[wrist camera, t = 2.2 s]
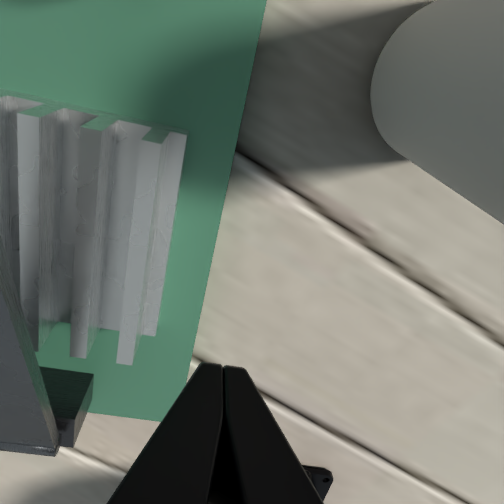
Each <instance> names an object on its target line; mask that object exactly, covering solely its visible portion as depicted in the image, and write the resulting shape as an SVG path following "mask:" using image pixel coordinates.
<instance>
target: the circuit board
mask: <svg viewBox="0 0 504 504" xmlns="http://www.w3.org/2000/svg"><path fill="white" fill-rule="evenodd" d="M266 1H267V0H0V88H3V89H7V90H11V91H16V92H20V93H25V94H29V95H34V96H38V97H43V98H47V99H52V100H56V101H61V102H65V103H70V104H74V105H79V106H83V107H87V108H92V109H96V110H101V111H105V112H110V113H114V114H119V115H123V116H128V117H132V118H137V119H141V120H146V121H150V122H154V123H159V124H163V125H168V126H172V127H177V128H181V129H186V130H189V136H188V143H187V149H186V155H185V161H184V168H183V174H182V180H181V186H180V193H179V199H178V205H177V212H176V218H175V224H174V230H173V237H172V243H171V249H170V255H169V262H168V268H167V274H166V281H165V287H164V293H163V299H162V306H161V312H160V318H159V324H158V328H157V332H156V336H148V335H142V336H141V339H140V342H139V345H138V349H137V352H136V355H135V358H134V361H133V365H125V364H118V363H116V360H117V351H118V342H119V333H120V331H116V330H110V329H103V328H100V330H99V332H98V334H97V336H96V338H95V341H94V343H93V345H92V347H91V349H90V351H89V353H88V356H87V358H86V359H84V358H77V357H70V335H71V323H65V322H59V321H58V322H57V323H56V325H55V326H54V328H53V330H52V331H51V333H50V334H49V336H48V338H47V339H46V341H45V342H44V344H43V345H42V347H41V349H40V350H39V352H36V351H35V354H36V358H37V361H38V364H39V366H42V367H49V368H56V369H63V370H70V371H77V372H84V373H91V374H94V382H93V394H92V401H91V404H90V407H89V409H88V412H90V413H97V414H105V415H113V416H120V417H128V418H136V419H144V420H151V421H159V422H161V421H162V420H163V418H164V417H165V415H166V414H167V412H168V411H169V409H170V408H171V406H172V405H173V403H174V402H175V400H176V399H177V397H178V396H179V394H180V393H181V391H182V390H183V388H184V387H185V385H186V380H187V376H188V371H189V366H190V361H191V357H192V352H193V347H194V343H195V338H196V333H197V328H198V324H199V319H200V314H201V309H202V305H203V300H204V295H205V290H206V286H207V281H208V276H209V271H210V267H211V262H212V257H213V252H214V248H215V243H216V238H217V234H218V229H219V224H220V219H221V215H222V210H223V205H224V200H225V196H226V191H227V186H228V181H229V177H230V172H231V167H232V162H233V158H234V153H235V148H236V143H237V139H238V134H239V129H240V125H241V120H242V115H243V110H244V106H245V101H246V96H247V91H248V87H249V82H250V77H251V72H252V68H253V63H254V58H255V53H256V49H257V44H258V39H259V34H260V30H261V25H262V20H263V16H264V11H265V6H266Z"/></svg>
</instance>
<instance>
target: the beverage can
mask: <svg viewBox="0 0 504 504" xmlns="http://www.w3.org/2000/svg"><path fill="white" fill-rule="evenodd" d="M370 99H371V108H372V114H373V119H374V122H375V124H376V126H377V129H378V131H379V133H380V134H381V136H382V137H383V139H384V140H385V141H386V142H387V144H388V145H389V146H390V147H392V148H393V149H394V150H395V151H396V152H398V153H399V154H401V155H402V156H404V157H405V158H407V159H408V160H410V161H411V162H412V163H414V164H415V165H417V166H418V167H420V168H421V169H423V170H424V171H426V172H427V173H429V174H430V175H432V176H433V177H435V178H436V179H438V180H439V181H440V182H442V183H443V184H445V185H446V186H448V187H449V188H451V189H452V190H454V191H455V192H457V193H458V194H460V195H461V196H463V197H464V198H466V199H467V200H469V201H470V202H471V203H473V204H474V205H476V206H477V207H479V208H480V209H482V210H483V211H485V212H486V213H488V214H489V215H491V216H492V217H494V218H495V219H497V220H498V221H500V222H501V223H502V224H504V0H437V1H435V2H433V3H430V4H428V5H426V6H425V7H423V8H421V9H420V10H418V11H417V12H415V13H414V14H413V15H411V16H410V17H409V18H408V19H406V20H405V21H404V22H403V23H402V24H401V25H400V26H399V27H398V28H397V30H396V31H395V32H394V33H393V34H392V36H391V37H390V39H389V40H388V42H387V43H386V45H385V46H384V48H383V50H382V52H381V54H380V56H379V58H378V61H377V63H376V66H375V69H374V73H373V77H372V82H371V91H370Z"/></svg>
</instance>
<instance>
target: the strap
mask: <svg viewBox="0 0 504 504" xmlns="http://www.w3.org/2000/svg"><path fill="white" fill-rule="evenodd" d="M61 440H62V434H60V433H59V432H58V429H57V425H56V422H55V419H54V415H53V412H52V408H51V405H50V402H49V398H48V395H47V392H46V388H45V385H44V381H43V378H42V375H41V371H40V368H39V364H38V361H37V358H36V354H35V351H34V347H33V344H32V341H31V337H30V334H29V330H28V327H27V324H26V320H25V317H24V314H23V310H22V307H21V303H20V300H19V297H18V293H17V290H16V286H15V283H14V280H13V276H12V273H11V269H10V266H9V263H8V259H7V256H6V252H5V249H4V246H3V242H2V239H1V236H0V450H1V451H9V452H18V453H27V454H35V455H44V456H53V457H55V456H56V455H57V453H58V451H59V448H60V444H61Z"/></svg>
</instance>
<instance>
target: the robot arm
mask: <svg viewBox="0 0 504 504" xmlns="http://www.w3.org/2000/svg"><path fill="white" fill-rule="evenodd" d="M332 482H333V476H332V472H331V471H329V470H322V469H314V468H306V467H302V465H301V463H300V461H299V460H298V458H297V456H296V455H295V453H294V451H293V449H292V448H291V446H290V444H289V443H288V441H287V439H286V437H285V436H284V434H283V432H282V431H281V429H280V427H279V425H278V424H277V422H276V420H275V418H274V417H273V415H272V413H271V412H270V410H269V408H268V406H267V405H266V403H265V401H264V400H263V398H262V396H261V394H260V393H259V391H258V389H257V388H256V386H255V384H254V382H253V381H252V379H251V377H250V376H249V374H248V372H247V370H246V369H244V368H242V367H236V366H229V365H226V366H224V367H222V365H221V364H216V363H209V362H201V363H200V364H199V366H198V367H197V369H196V370H195V372H194V373H193V375H192V376H191V378H190V379H189V381H188V382H187V384H186V385H185V387H184V388H183V390H182V391H181V393H180V394H179V396H178V397H177V399H176V400H175V402H174V403H173V405H172V406H171V408H170V409H169V411H168V412H167V414H166V415H165V417H164V418H163V420H162V421H161V423H160V424H159V426H158V427H157V429H156V430H155V432H154V433H153V435H152V436H151V438H150V439H149V441H148V442H147V444H146V445H145V447H144V448H143V450H142V451H141V453H140V454H139V456H138V457H137V459H136V460H135V462H134V463H133V465H132V466H131V468H130V469H129V471H128V472H127V474H126V475H125V477H124V479H123V480H122V482H121V483H120V485H119V486H118V488H117V489H116V491H115V492H114V494H113V495H112V497H111V498H110V500H109V501H108V503H107V504H324V503H323V501H324V498H325V496H326V494H327V492H328V490H329V488H330V486H331V484H332Z"/></svg>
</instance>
